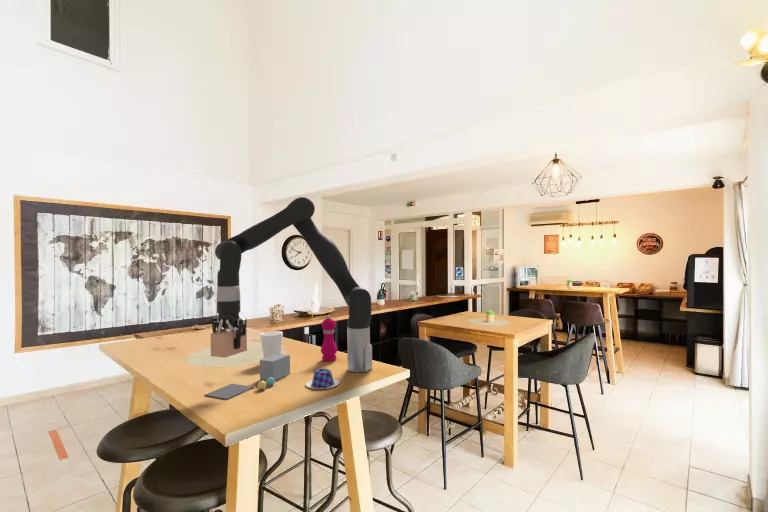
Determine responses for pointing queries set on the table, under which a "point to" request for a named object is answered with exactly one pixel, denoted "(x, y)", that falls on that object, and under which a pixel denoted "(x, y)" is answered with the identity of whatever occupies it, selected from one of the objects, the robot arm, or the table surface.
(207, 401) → the table surface
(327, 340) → the pepper mill
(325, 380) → the pudding
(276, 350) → the foam cup
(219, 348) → the cover terracotta
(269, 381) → the marble
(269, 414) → the table surface
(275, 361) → the plate
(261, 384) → the marble
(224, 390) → the mat
